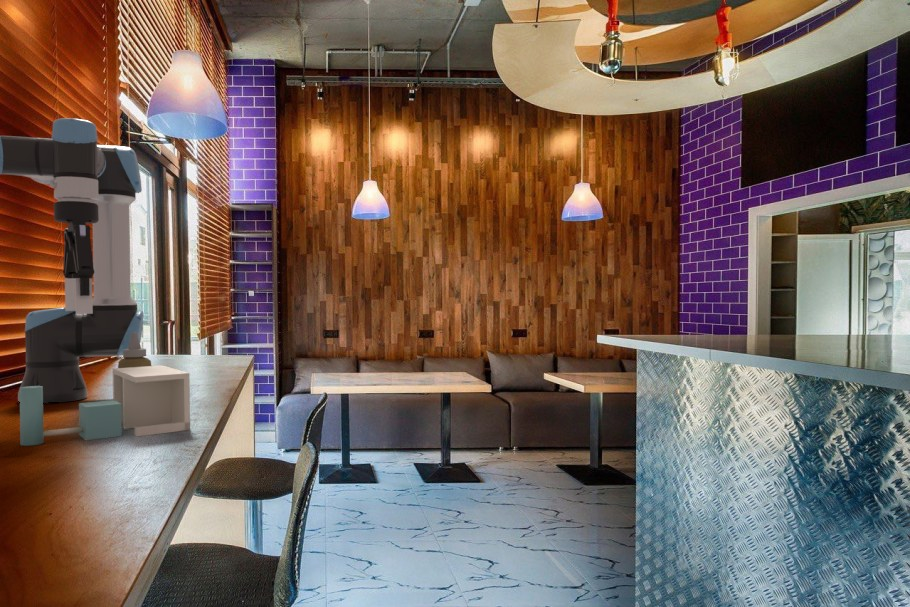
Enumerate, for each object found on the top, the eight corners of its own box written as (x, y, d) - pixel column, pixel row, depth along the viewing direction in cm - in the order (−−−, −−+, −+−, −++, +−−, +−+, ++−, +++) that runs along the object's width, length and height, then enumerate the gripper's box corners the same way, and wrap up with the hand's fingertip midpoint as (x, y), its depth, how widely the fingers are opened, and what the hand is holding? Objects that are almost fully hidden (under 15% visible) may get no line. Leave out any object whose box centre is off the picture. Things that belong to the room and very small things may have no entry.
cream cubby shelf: (113, 421, 144) (112, 368, 144) (162, 416, 150) (162, 365, 150) (135, 436, 129) (135, 377, 128) (190, 429, 134) (189, 373, 134)
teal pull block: (18, 442, 124) (17, 386, 124) (114, 431, 134) (113, 379, 134) (22, 447, 120) (21, 389, 119) (121, 435, 129) (120, 382, 129)
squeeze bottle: (106, 416, 151) (105, 333, 150) (139, 410, 158) (138, 331, 158) (131, 418, 147) (130, 334, 147) (163, 413, 154) (162, 332, 154)
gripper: (46, 205, 141) (48, 310, 142) (62, 194, 121) (65, 315, 122) (87, 208, 146) (89, 309, 146) (110, 197, 125) (112, 314, 126)
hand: (78, 312), depth 134 cm, fingers open, 13 cm apart
